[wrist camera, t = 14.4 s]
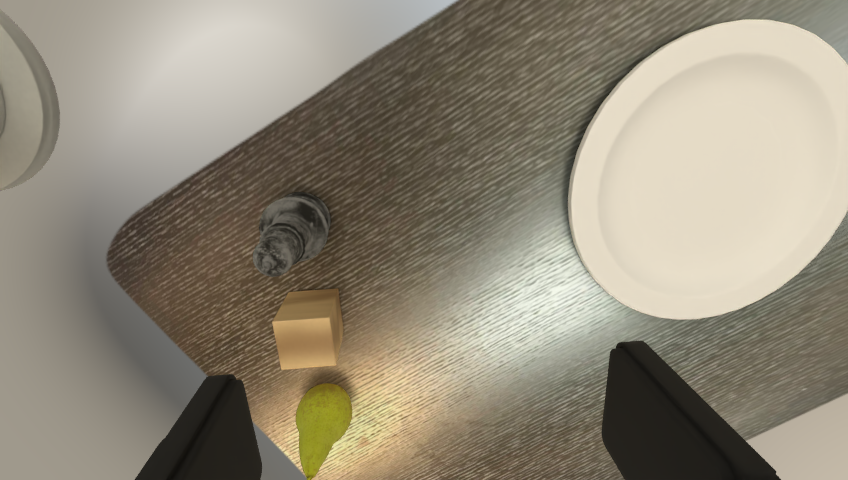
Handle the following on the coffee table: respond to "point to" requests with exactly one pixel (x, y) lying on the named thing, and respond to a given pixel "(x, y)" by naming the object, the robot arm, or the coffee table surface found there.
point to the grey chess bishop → (291, 232)
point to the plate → (713, 170)
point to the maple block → (309, 329)
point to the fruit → (321, 424)
